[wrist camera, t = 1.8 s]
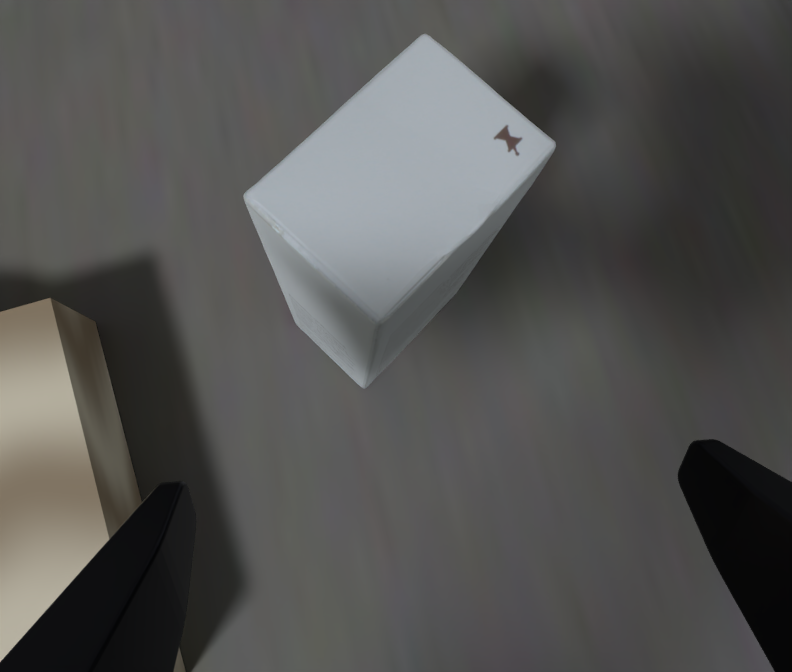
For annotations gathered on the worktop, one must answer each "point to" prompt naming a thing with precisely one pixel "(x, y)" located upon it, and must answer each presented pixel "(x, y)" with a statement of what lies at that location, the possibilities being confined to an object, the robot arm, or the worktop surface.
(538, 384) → the worktop surface
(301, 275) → the skincare box
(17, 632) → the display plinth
